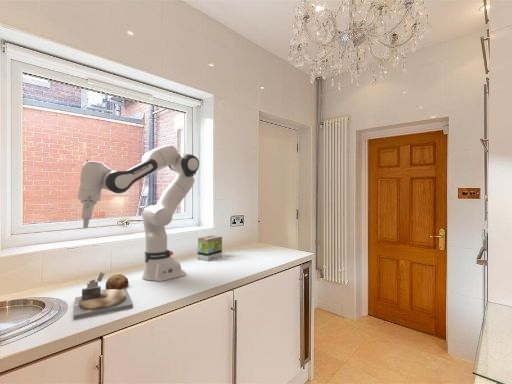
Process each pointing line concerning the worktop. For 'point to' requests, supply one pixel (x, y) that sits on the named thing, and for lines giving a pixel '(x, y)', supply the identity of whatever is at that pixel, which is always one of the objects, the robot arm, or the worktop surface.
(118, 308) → the dial plate
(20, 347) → the worktop surface
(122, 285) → the bread roll
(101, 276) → the lighter
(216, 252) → the tea box
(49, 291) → the worktop surface
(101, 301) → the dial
